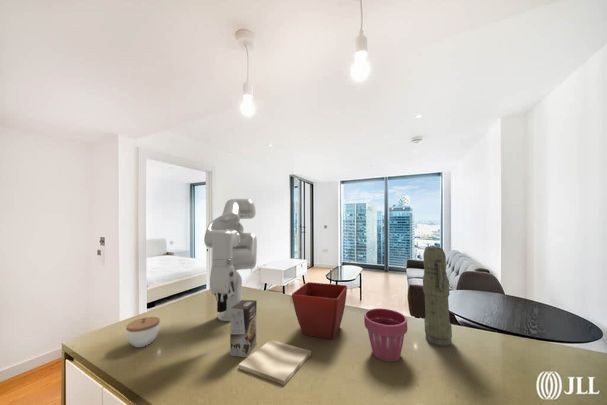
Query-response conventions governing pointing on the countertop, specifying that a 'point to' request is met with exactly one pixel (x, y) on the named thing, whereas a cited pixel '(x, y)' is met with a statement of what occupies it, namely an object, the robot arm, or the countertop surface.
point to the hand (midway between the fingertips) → (221, 311)
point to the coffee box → (243, 328)
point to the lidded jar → (142, 331)
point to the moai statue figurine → (436, 298)
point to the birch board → (275, 361)
